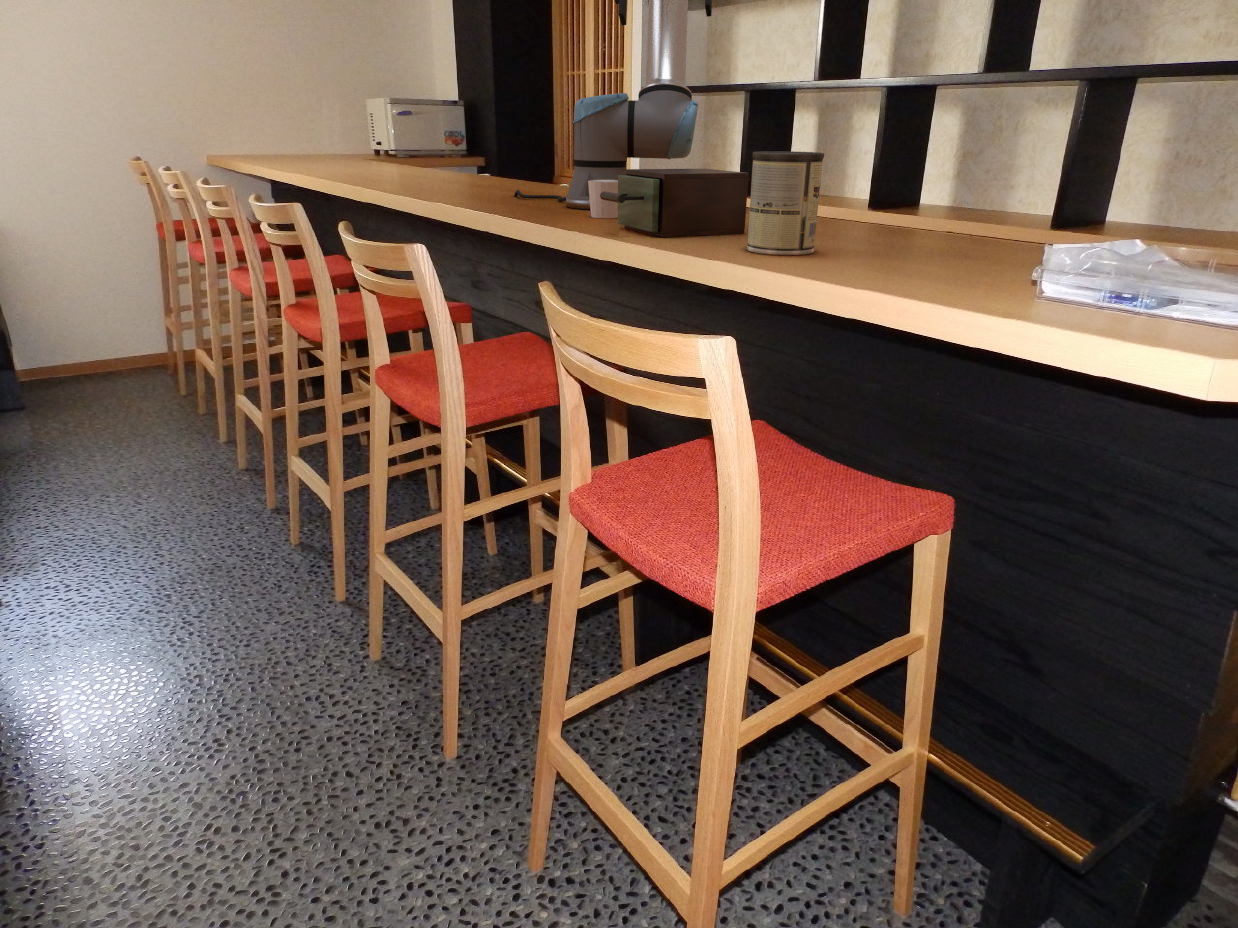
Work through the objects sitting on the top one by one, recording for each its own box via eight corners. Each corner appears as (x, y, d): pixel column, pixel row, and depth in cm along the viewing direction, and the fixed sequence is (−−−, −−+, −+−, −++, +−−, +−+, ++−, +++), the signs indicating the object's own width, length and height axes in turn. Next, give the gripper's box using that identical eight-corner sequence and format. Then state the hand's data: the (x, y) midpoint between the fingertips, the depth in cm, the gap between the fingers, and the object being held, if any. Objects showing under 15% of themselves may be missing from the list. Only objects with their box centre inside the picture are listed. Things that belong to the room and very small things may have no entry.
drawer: (625, 233, 138) (626, 180, 135) (592, 224, 148) (592, 175, 145) (729, 228, 146) (732, 178, 143) (691, 221, 157) (693, 174, 154)
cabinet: (662, 237, 140) (664, 174, 137) (624, 228, 152) (625, 169, 148) (744, 233, 147) (748, 173, 144) (702, 225, 159) (704, 168, 155)
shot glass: (625, 216, 172) (625, 180, 170) (617, 219, 166) (618, 182, 163) (592, 214, 174) (592, 179, 171) (584, 217, 167) (584, 181, 165)
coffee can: (744, 245, 133) (751, 150, 128) (810, 247, 132) (819, 152, 127) (747, 254, 124) (754, 152, 118) (818, 256, 123) (828, 154, 117)
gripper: (587, -114, 134) (581, 7, 131) (745, -136, 129) (743, -10, 125) (598, -77, 141) (593, 38, 138) (748, -96, 136) (746, 23, 133)
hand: (664, 15), depth 132 cm, fingers open, 13 cm apart
